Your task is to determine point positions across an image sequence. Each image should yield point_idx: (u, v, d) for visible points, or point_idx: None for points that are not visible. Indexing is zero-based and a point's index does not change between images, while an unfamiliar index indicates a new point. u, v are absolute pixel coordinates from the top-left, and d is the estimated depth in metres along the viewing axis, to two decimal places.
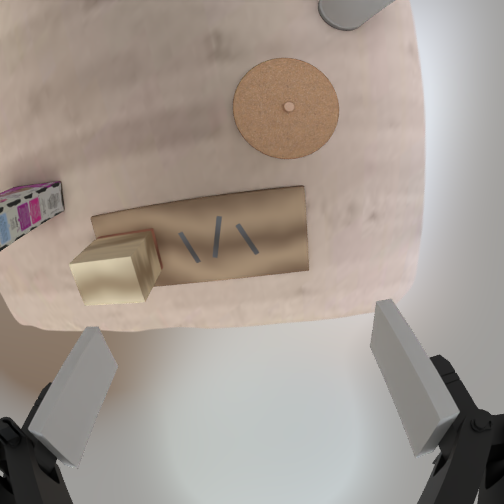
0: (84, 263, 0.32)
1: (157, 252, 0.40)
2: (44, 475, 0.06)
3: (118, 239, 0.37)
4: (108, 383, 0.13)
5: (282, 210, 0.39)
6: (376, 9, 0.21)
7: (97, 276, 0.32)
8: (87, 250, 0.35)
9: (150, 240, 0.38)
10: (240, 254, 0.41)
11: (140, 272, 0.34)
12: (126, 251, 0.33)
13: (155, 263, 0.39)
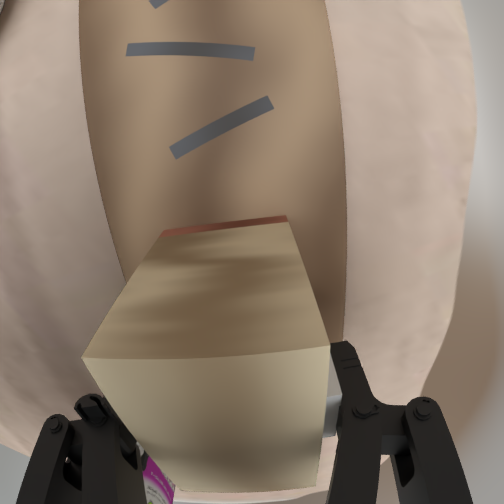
0: (165, 471, 0.09)
1: (229, 226, 0.14)
2: (124, 462, 0.07)
3: None
4: None
5: None
6: None
7: (201, 460, 0.08)
8: None
9: (172, 244, 0.13)
10: None
11: (187, 324, 0.07)
12: None
13: (247, 237, 0.12)
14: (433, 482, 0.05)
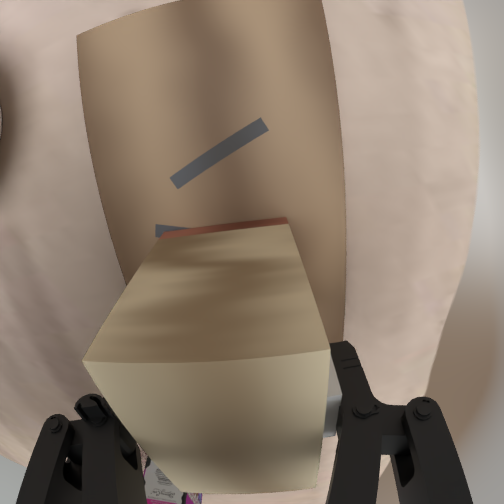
0: (166, 472, 0.09)
1: (229, 228, 0.14)
2: (124, 462, 0.07)
3: None
4: None
5: (130, 68, 0.11)
6: None
7: (202, 462, 0.08)
8: None
9: (172, 246, 0.13)
10: (266, 173, 0.13)
11: (187, 327, 0.07)
12: None
13: (247, 240, 0.12)
14: (433, 482, 0.05)
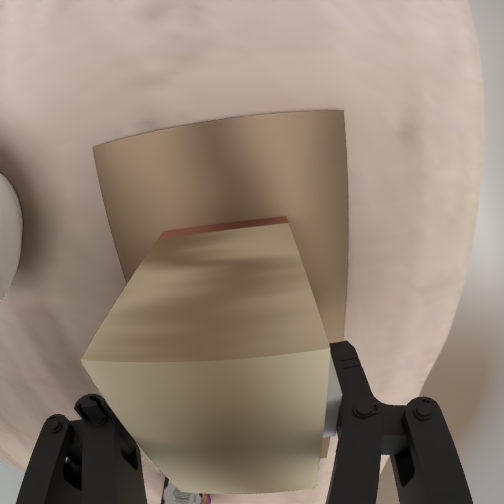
0: (165, 472, 0.09)
1: (229, 227, 0.14)
2: (124, 462, 0.07)
3: None
4: None
5: (154, 195, 0.14)
6: None
7: (201, 462, 0.08)
8: None
9: (172, 245, 0.13)
10: None
11: (186, 326, 0.07)
12: None
13: (246, 239, 0.12)
14: (433, 482, 0.05)
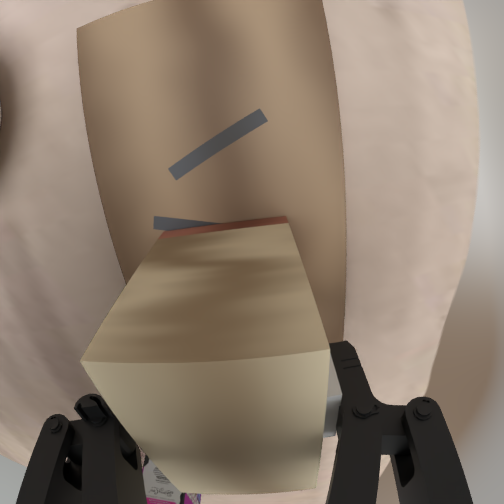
0: (165, 473, 0.09)
1: (228, 227, 0.14)
2: (124, 462, 0.07)
3: None
4: None
5: (130, 60, 0.11)
6: None
7: (201, 462, 0.08)
8: None
9: (171, 246, 0.13)
10: (265, 164, 0.13)
11: (186, 327, 0.07)
12: None
13: (246, 239, 0.12)
14: (433, 482, 0.05)
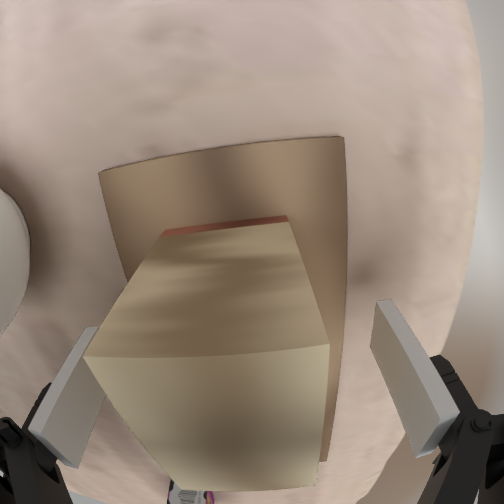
0: (166, 469, 0.09)
1: (229, 226, 0.14)
2: (44, 475, 0.06)
3: None
4: None
5: (160, 221, 0.14)
6: None
7: (202, 459, 0.09)
8: None
9: (173, 244, 0.13)
10: None
11: (188, 323, 0.07)
12: None
13: (247, 237, 0.12)
14: None
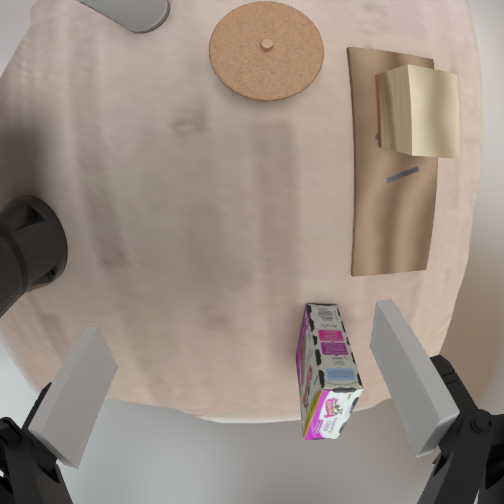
0: (413, 130, 0.23)
1: None
2: (44, 475, 0.06)
3: (385, 108, 0.28)
4: (108, 383, 0.13)
5: (373, 71, 0.29)
6: None
7: (428, 118, 0.23)
8: (395, 143, 0.28)
9: None
10: None
11: None
12: (401, 77, 0.23)
13: None
14: None
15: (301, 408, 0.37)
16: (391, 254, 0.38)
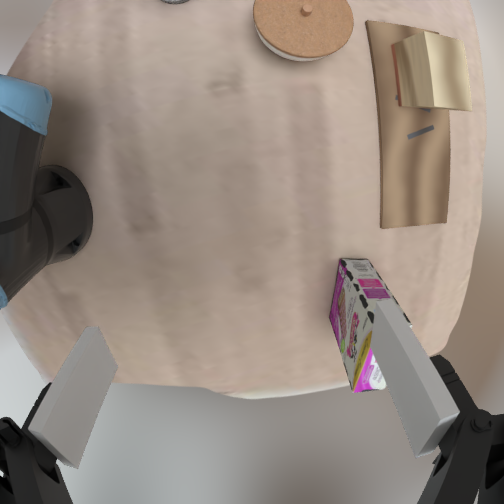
0: (433, 84, 0.24)
1: None
2: (44, 475, 0.06)
3: (404, 71, 0.29)
4: (108, 383, 0.13)
5: (389, 41, 0.29)
6: None
7: (444, 76, 0.23)
8: (416, 99, 0.28)
9: None
10: None
11: None
12: (418, 42, 0.23)
13: None
14: None
15: (345, 362, 0.37)
16: (415, 207, 0.39)
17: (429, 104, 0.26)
